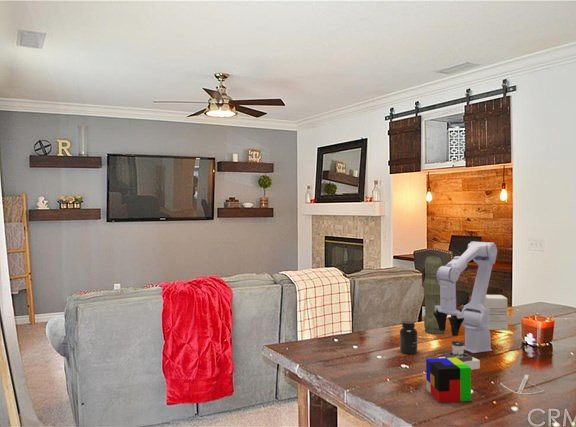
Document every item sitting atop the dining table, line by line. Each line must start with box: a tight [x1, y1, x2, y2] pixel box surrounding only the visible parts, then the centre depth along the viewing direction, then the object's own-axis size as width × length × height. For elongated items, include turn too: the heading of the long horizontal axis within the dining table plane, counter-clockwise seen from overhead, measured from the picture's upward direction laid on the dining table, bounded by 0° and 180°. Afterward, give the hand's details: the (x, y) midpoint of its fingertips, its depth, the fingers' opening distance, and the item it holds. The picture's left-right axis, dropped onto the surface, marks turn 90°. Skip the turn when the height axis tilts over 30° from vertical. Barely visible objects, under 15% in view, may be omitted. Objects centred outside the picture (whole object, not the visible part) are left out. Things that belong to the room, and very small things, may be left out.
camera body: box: [437, 351, 481, 371], centre depth 173 cm, size 12×8×4 cm, turn 107°
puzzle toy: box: [425, 357, 472, 403], centre depth 148 cm, size 10×10×10 cm
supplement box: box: [484, 294, 509, 331], centre depth 226 cm, size 9×9×15 cm
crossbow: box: [499, 374, 545, 396], centre depth 154 cm, size 16×13×2 cm
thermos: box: [421, 255, 445, 335], centre depth 221 cm, size 9×12×35 cm
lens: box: [451, 340, 465, 358], centre depth 173 cm, size 4×4×6 cm
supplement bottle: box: [399, 320, 418, 355], centre depth 192 cm, size 7×7×12 cm
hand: (448, 333), depth 183 cm, fingers open, 7 cm apart
